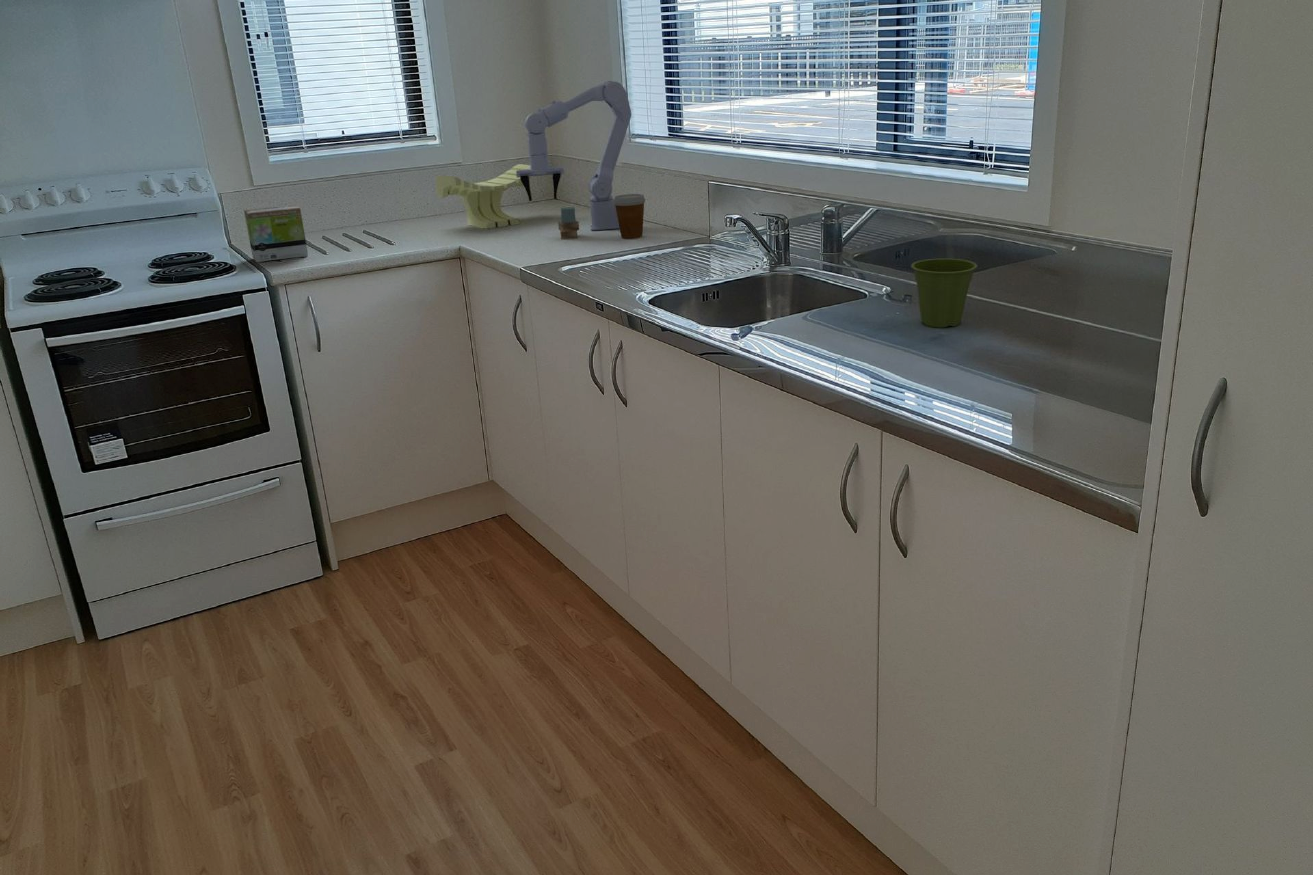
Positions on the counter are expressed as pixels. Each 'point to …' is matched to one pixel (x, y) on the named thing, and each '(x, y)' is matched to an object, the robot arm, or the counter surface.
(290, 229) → the tea box
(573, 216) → the cube
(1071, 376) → the counter surface
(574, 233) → the bottom slab
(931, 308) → the plant pot
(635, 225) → the disposable coffee cup
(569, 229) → the top slab
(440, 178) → the slatted curved stool
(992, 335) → the counter surface
